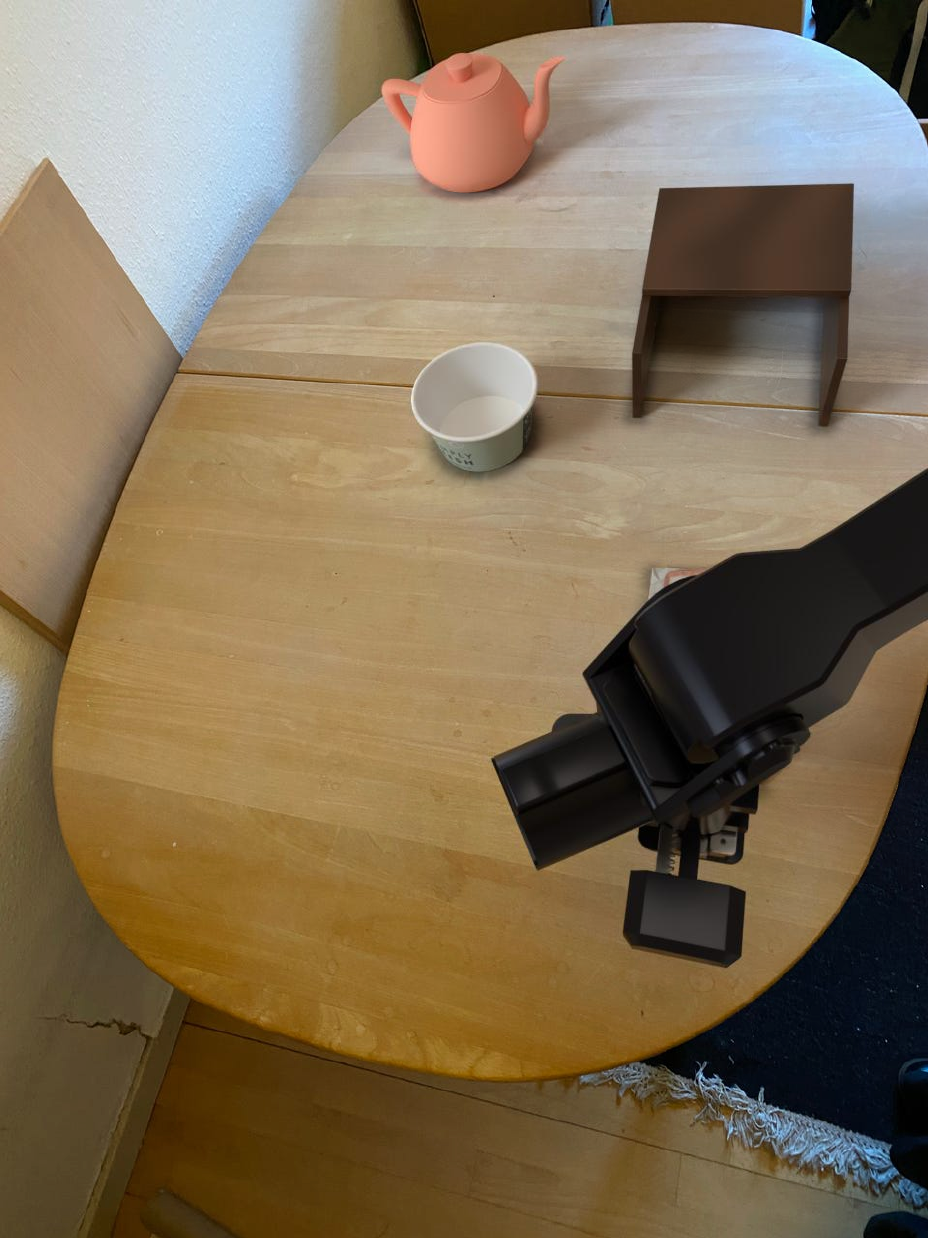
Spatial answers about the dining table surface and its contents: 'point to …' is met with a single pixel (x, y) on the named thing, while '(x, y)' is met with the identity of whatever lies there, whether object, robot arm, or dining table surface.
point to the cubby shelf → (752, 261)
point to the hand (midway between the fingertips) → (688, 823)
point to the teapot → (471, 120)
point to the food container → (477, 404)
